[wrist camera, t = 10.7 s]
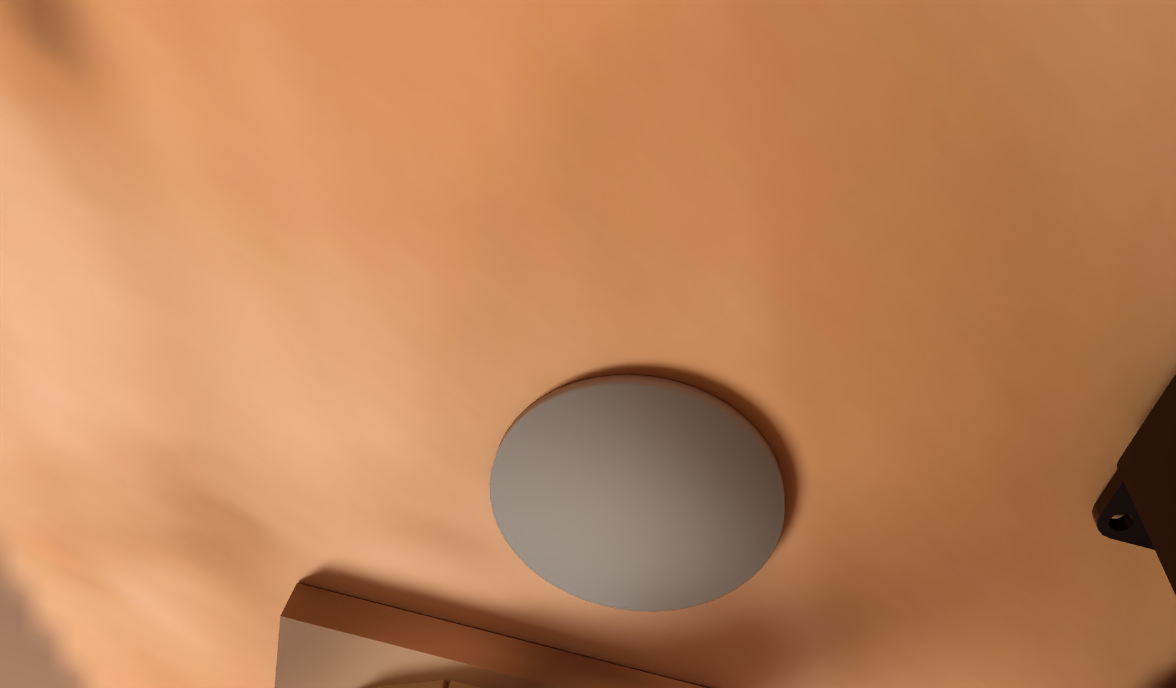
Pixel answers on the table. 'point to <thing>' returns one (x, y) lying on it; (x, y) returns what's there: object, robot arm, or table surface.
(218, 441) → the table surface
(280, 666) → the hub board
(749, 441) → the grey coaster
